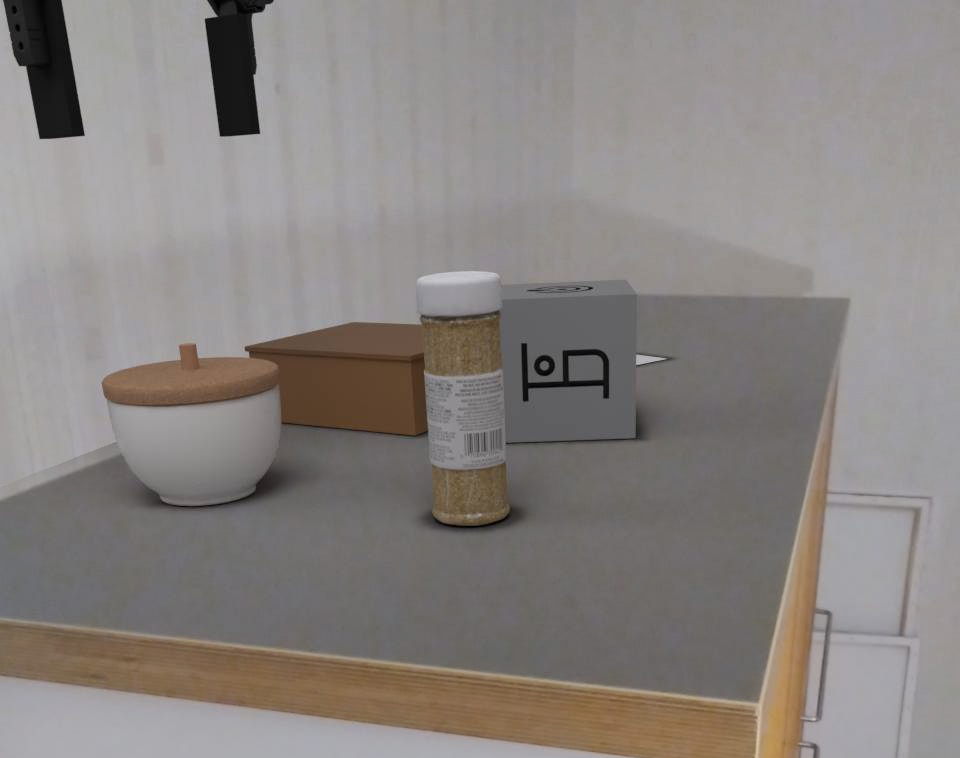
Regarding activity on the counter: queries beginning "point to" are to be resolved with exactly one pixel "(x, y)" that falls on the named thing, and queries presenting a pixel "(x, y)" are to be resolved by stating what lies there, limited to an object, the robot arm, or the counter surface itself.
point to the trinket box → (197, 425)
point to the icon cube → (569, 360)
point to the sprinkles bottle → (464, 395)
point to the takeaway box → (352, 377)
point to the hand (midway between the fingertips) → (158, 137)
